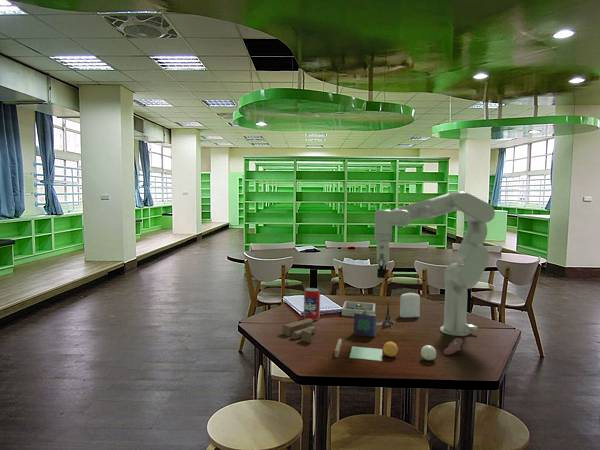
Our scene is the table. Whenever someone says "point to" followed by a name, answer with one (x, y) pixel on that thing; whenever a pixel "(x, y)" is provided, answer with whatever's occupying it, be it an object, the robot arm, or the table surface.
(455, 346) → the video game controller
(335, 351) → the stop rail
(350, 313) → the cup tray
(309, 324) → the wooden block set
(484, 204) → the robot arm
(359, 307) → the grey rounded piece
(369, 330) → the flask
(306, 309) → the soda can
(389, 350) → the orange ball
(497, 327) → the table surface
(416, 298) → the photo printer
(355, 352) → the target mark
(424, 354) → the cue ball
